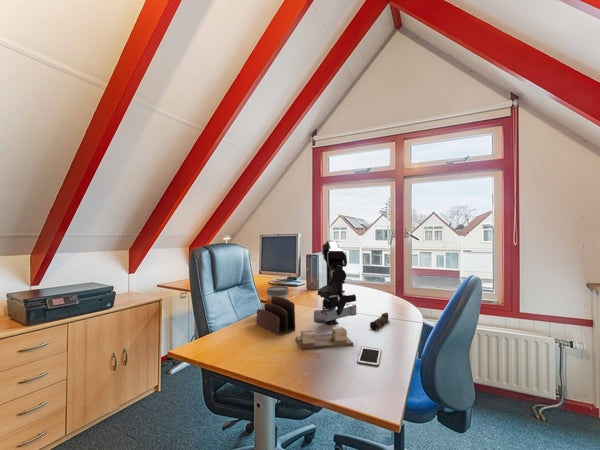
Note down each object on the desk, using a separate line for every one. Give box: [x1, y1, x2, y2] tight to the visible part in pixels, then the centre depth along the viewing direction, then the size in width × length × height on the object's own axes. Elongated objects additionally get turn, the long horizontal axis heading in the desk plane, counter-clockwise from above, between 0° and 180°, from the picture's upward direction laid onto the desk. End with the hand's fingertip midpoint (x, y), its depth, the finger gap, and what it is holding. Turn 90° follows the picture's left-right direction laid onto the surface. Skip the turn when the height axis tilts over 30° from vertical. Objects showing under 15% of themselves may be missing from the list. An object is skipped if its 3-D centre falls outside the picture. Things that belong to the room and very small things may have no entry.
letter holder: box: [256, 296, 296, 336], centre depth 141 cm, size 10×20×14 cm, turn 39°
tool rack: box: [295, 326, 354, 351], centre depth 122 cm, size 12×22×5 cm, turn 102°
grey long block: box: [313, 303, 357, 325], centre depth 125 cm, size 24×6×4 cm, turn 127°
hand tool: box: [369, 312, 389, 331], centre depth 145 cm, size 19×4×5 cm, turn 140°
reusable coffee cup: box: [266, 285, 290, 303], centre depth 162 cm, size 13×13×15 cm
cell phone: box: [356, 346, 382, 368], centre depth 109 cm, size 8×15×1 cm, turn 161°
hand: (336, 314), depth 125 cm, fingers closed on grey long block, 3 cm apart
